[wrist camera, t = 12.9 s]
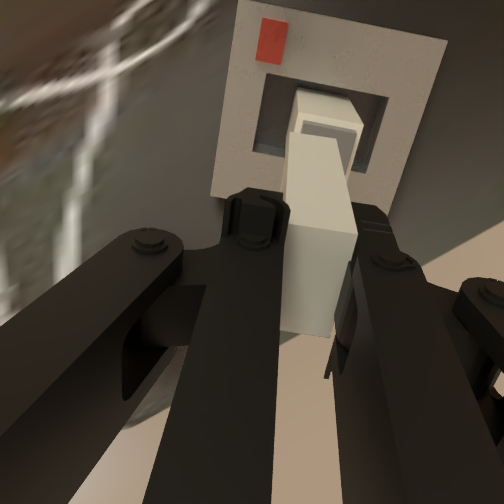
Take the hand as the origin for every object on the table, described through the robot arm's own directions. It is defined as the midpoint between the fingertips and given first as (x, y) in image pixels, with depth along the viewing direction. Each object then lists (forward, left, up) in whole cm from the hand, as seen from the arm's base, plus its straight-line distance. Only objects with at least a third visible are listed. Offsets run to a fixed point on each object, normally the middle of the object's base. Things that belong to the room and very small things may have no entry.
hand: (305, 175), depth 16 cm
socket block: (+4, +3, -28) cm, 28 cm away
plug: (+4, +3, -28) cm, 28 cm away
